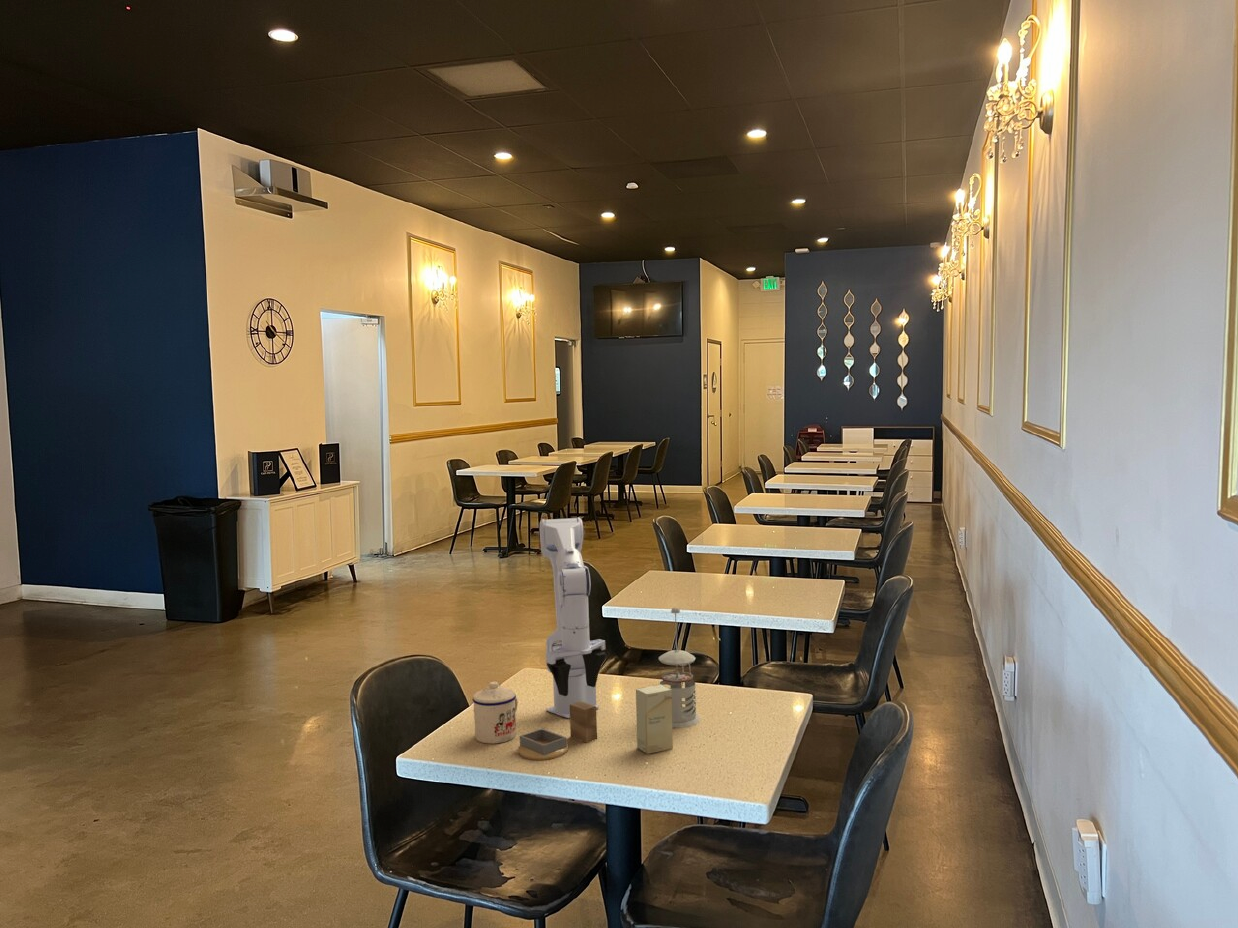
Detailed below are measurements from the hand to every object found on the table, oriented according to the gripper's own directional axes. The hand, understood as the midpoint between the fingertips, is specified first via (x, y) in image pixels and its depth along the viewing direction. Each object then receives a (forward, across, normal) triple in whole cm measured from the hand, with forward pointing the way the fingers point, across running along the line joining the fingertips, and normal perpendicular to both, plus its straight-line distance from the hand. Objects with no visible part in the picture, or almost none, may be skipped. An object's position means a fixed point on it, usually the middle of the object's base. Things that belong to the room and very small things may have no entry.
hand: (577, 690), depth 187 cm
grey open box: (+10, -9, +1) cm, 14 cm away
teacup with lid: (+11, -10, +15) cm, 21 cm away
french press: (+11, +23, -7) cm, 26 cm away
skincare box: (+10, +7, -15) cm, 20 cm away
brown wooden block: (+10, +1, 0) cm, 10 cm away
